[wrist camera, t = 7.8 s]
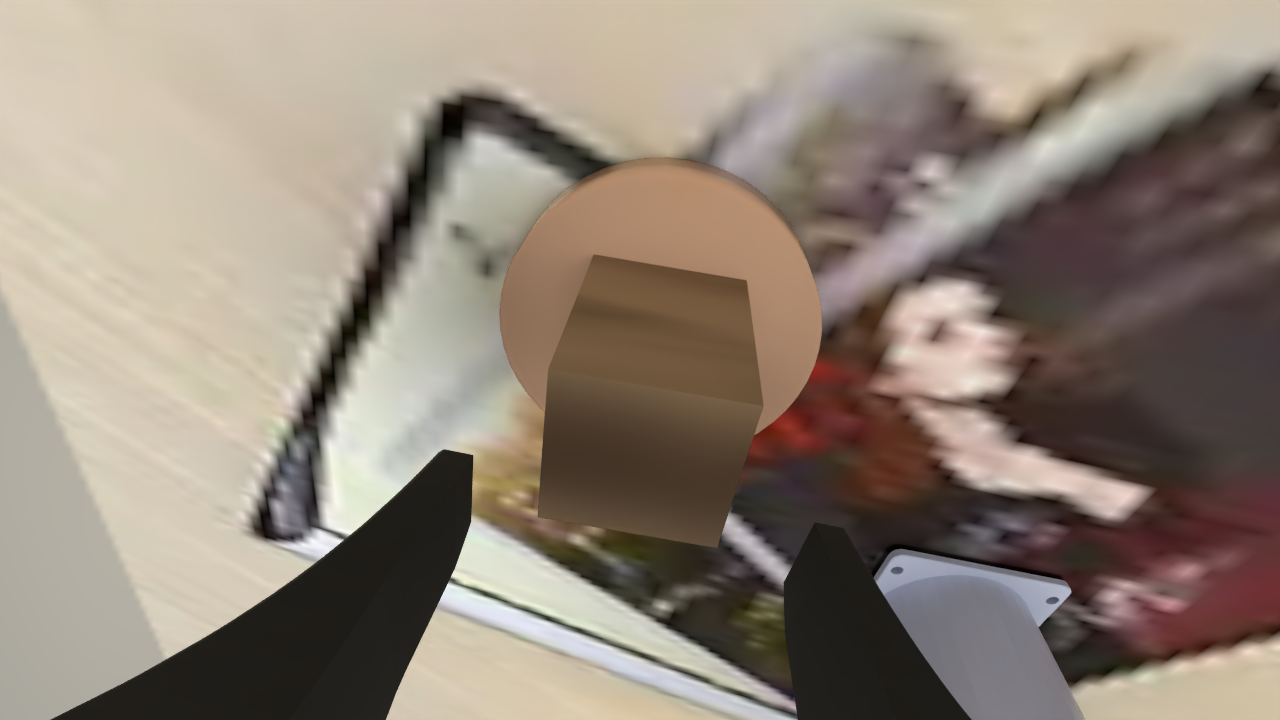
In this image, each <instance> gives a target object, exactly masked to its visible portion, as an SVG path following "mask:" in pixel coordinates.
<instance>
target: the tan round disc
mask: <svg viewBox="0 0 1280 720" xmlns="http://www.w3.org/2000/svg"><path fill="white" fill-rule="evenodd" d="M594 254H595V255H601V256H607V257H613V258H619V259H625V260H630V261H636V262H642V263H648V264H654V265H660V266H666V267H672V268H678V269H684V270H690V271H695V272H701V273H707V274H713V275H719V276H724V277H730V278H736V279H742V280H747V286H748V293H749V300H750V308H751V315H752V323H753V330H754V338H755V345H756V352H757V360H758V367H759V375H760V382H761V390H762V397H763V405H764V407H763V410H762V413H761V416H760V419H759V422H758V425H757V428H756V431H755V434H757V433H759V432H760V431H761V430H763V429H764V428H766V427H767V426H769V425H770V424H771V423H773V422H774V421H775V420H776V419H777V418H778V417H779V416H780V415H782V414H783V413H784V412H785V411H786V410H787V409H788V407H789V406H790V405H791V404H792V403H793V402H794V400H795V399H796V398H797V397H798V395H799V394H800V392H801V391H802V389H803V387H804V386H805V384H806V383H807V381H808V379H809V377H810V374H811V372H812V370H813V368H814V366H815V362H816V359H817V355H818V352H819V349H820V341H821V334H822V311H821V305H820V300H819V294H818V290H817V287H816V284H815V282H814V279H813V276H812V273H811V270H810V267H809V265H808V262H807V259H806V256H805V254H804V251H803V248H802V245H801V243H800V241H799V239H798V237H797V235H796V234H795V232H794V230H793V228H792V226H791V225H790V224H789V222H788V221H787V219H786V218H785V217H784V215H783V214H782V213H781V211H780V210H779V209H778V208H777V207H776V206H775V205H774V204H773V203H772V202H771V201H770V200H769V199H768V198H767V197H766V196H765V195H763V194H762V193H761V192H759V191H758V190H757V189H756V188H754V187H753V186H752V185H750V184H749V183H747V182H745V181H744V180H742V179H740V178H738V177H736V176H735V175H733V174H731V173H729V172H726V171H724V170H721V169H719V168H716V167H713V166H711V165H707V164H703V163H699V162H695V161H691V160H684V159H674V158H644V159H638V160H632V161H626V162H622V163H618V164H615V165H612V166H609V167H605V168H603V169H600V170H598V171H596V172H594V173H592V174H590V175H588V176H585V177H584V178H582V179H581V180H579V181H578V182H576V183H574V184H573V185H571V186H570V187H568V188H567V189H566V190H565V191H564V192H562V193H561V194H560V195H559V196H558V197H557V198H556V199H555V200H553V201H552V203H551V204H550V205H549V206H548V207H547V208H546V210H545V211H544V212H543V213H542V214H541V216H540V217H539V219H538V220H537V222H536V223H535V225H534V226H533V228H532V229H531V231H530V232H529V234H528V235H527V237H526V239H525V240H524V242H523V243H522V245H521V246H520V248H519V250H518V251H517V253H516V255H515V256H514V258H513V260H512V262H511V265H510V267H509V269H508V272H507V274H506V277H505V281H504V285H503V289H502V293H501V302H500V329H501V335H502V340H503V344H504V349H505V351H506V354H507V357H508V360H509V363H510V365H511V367H512V369H513V371H514V373H515V375H516V377H517V379H518V380H519V382H520V383H521V385H522V386H523V388H524V389H525V391H526V392H527V393H528V395H529V396H530V397H531V398H532V399H533V401H534V402H535V403H536V404H537V405H538V406H539V407H540V408H541V409H542V410H543V411H544V412H545V406H546V391H547V377H548V368H549V365H550V363H551V360H552V358H553V355H554V353H555V350H556V348H557V345H558V343H559V340H560V338H561V335H562V333H563V330H564V328H565V325H566V323H567V320H568V318H569V315H570V313H571V310H572V308H573V305H574V303H575V300H576V298H577V295H578V293H579V290H580V288H581V285H582V283H583V280H584V278H585V275H586V272H587V270H588V267H589V265H590V262H591V260H592V257H593V255H594ZM755 434H754V435H755Z"/></svg>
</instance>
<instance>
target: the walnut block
mask: <svg viewBox="0 0 1280 720" xmlns="http://www.w3.org/2000/svg"><path fill="white" fill-rule="evenodd" d="M763 407H764V405H763V397H762V390H761V382H760V375H759V367H758V360H757V352H756V345H755V338H754V330H753V323H752V315H751V308H750V300H749V293H748V286H747V280H742V279H736V278H730V277H724V276H719V275H713V274H707V273H701V272H695V271H690V270H684V269H678V268H672V267H666V266H660V265H654V264H648V263H642V262H636V261H630V260H625V259H619V258H613V257H607V256H601V255H595V254H594V255H593V257H592V260H591V262H590V265H589V267H588V270H587V272H586V275H585V278H584V280H583V283H582V285H581V288H580V290H579V293H578V295H577V298H576V300H575V303H574V305H573V308H572V310H571V313H570V315H569V318H568V320H567V323H566V325H565V328H564V330H563V333H562V335H561V338H560V340H559V343H558V345H557V348H556V350H555V353H554V355H553V358H552V360H551V363H550V365H549V368H548V377H547V391H546V406H545V420H544V434H543V448H542V463H541V477H540V491H539V505H538V517H540V518H545V519H551V520H557V521H563V522H569V523H575V524H580V525H586V526H592V527H598V528H604V529H610V530H615V531H621V532H627V533H633V534H639V535H645V536H650V537H656V538H662V539H668V540H674V541H680V542H685V543H691V544H697V545H703V546H709V547H715V548H717V546H718V543H719V540H720V537H721V534H722V531H723V528H724V525H725V522H726V519H727V516H728V513H729V510H730V507H731V504H732V501H733V498H734V495H735V492H736V489H737V486H738V483H739V480H740V477H741V474H742V470H743V467H744V464H745V461H746V458H747V455H748V452H749V449H750V446H751V443H752V440H753V437H754V434H755V431H756V428H757V425H758V422H759V419H760V416H761V413H762V410H763Z"/></svg>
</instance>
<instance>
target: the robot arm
mask: <svg viewBox="0 0 1280 720" xmlns="http://www.w3.org/2000/svg"><path fill="white" fill-rule="evenodd" d="M472 478H473V455H470V454H465V453H460V452H455V451H450V450H445V449H444V450H442V451H440V452H439V453H438V454H437V455H436V456H435V457H434V458H433V459H432V460H431V461H430V462H429V463H428V464H427V465H426V466H425V467H424V468H423V469H422V470H421V471H420V472H419V473H418V474H417V475H416V476H415V477H414V478H413V479H412V480H411V481H410V482H409V483H408V484H407V485H406V486H405V487H404V488H403V489H402V490H401V491H400V492H398V493H397V494H396V495H395V496H394V497H393V498H392V499H391V500H390V501H389V502H388V503H387V504H385V505H384V506H383V507H382V508H381V509H380V510H379V511H378V512H377V513H375V514H374V515H373V516H372V517H371V518H370V519H369V520H368V521H366V522H365V523H364V524H363V525H362V526H361V527H360V528H358V529H357V530H356V531H355V532H353V533H352V534H351V535H350V536H349V537H347V538H346V539H345V540H344V541H342V542H341V543H340V544H339V545H338V546H336V547H335V548H334V549H333V550H331V551H330V552H329V553H328V554H326V555H325V556H324V557H323V558H321V559H320V560H319V561H318V562H316V563H315V564H314V565H312V566H311V567H310V568H308V569H307V570H306V571H304V572H303V573H302V574H300V575H299V576H297V577H296V578H295V579H293V580H292V581H290V582H289V583H288V584H286V585H285V586H283V587H282V588H281V589H279V590H278V591H276V592H275V593H273V594H272V595H271V596H269V597H268V598H266V599H265V600H263V601H261V602H260V603H258V604H257V605H255V606H254V607H252V608H251V609H249V610H248V611H246V612H245V613H243V614H242V615H240V616H239V617H237V618H236V619H234V620H232V621H231V622H229V623H228V624H226V625H224V626H223V627H221V628H220V629H218V630H216V631H215V632H213V633H211V634H210V635H208V636H206V637H205V638H203V639H201V640H200V641H198V642H196V643H194V644H193V645H191V646H189V647H187V648H186V649H184V650H182V651H180V652H178V653H177V654H175V655H173V656H171V657H170V658H168V659H166V660H164V661H163V662H161V663H159V664H158V665H156V666H154V667H152V668H150V669H149V670H147V671H145V672H143V673H142V674H140V675H138V676H136V677H134V678H132V679H131V680H128V681H126V682H125V683H123V684H121V685H119V686H117V687H115V688H113V689H111V690H109V691H107V692H105V693H103V694H101V695H99V696H97V697H95V698H93V699H91V700H89V701H87V702H85V703H83V704H81V705H79V706H77V707H75V708H73V709H71V710H69V711H67V712H65V713H63V714H61V715H59V716H57V717H55V718H53V719H51V720H386V718H387V715H388V713H389V710H390V707H391V705H392V702H393V699H394V697H395V694H396V692H397V690H398V687H399V685H400V683H401V680H402V678H403V676H404V673H405V671H406V669H407V667H408V665H409V663H410V661H411V659H412V657H413V655H414V652H415V650H416V648H417V646H418V644H419V642H420V640H421V638H422V636H423V634H424V632H425V630H426V628H427V626H428V623H429V621H430V619H431V617H432V615H433V613H434V611H435V609H436V607H437V605H438V603H439V601H440V598H441V596H442V594H443V592H444V590H445V588H446V586H447V584H448V582H449V580H450V577H451V575H452V573H453V571H454V569H455V566H456V564H457V561H458V558H459V555H460V552H461V550H462V547H463V544H464V541H465V538H466V535H467V532H468V529H469V526H470V523H471V508H472ZM1070 593H1071V589H1070V587H1069V585H1068V584H1067V583H1066V582H1065V581H1063V580H1060V579H1054V578H1049V577H1044V576H1039V575H1034V574H1029V573H1024V572H1019V571H1013V570H1008V569H1003V568H998V567H993V566H988V565H983V564H977V563H972V562H967V561H962V560H957V559H952V558H947V557H941V556H936V555H931V554H926V553H921V552H916V551H911V550H906V549H896V550H894V551H892V552H891V553H890V554H889V555H888V556H887V558H886V559H885V561H884V562H883V564H882V565H881V567H880V568H879V570H878V571H877V573H876V575H875V576H874V578H873V577H872V575H871V573H870V572H869V570H868V568H867V567H866V565H865V563H864V562H863V560H862V558H861V557H860V555H859V553H858V552H857V550H856V548H855V547H854V545H853V543H852V542H851V540H850V538H849V537H848V535H847V533H846V532H845V530H844V529H843V528H840V527H835V526H830V525H825V524H820V523H814V525H813V527H812V529H811V531H810V533H809V535H808V537H807V539H806V540H805V542H804V544H803V546H802V548H801V550H800V552H799V554H798V556H797V558H796V560H795V562H794V564H793V566H792V568H791V570H790V572H789V574H788V575H787V577H786V579H785V581H784V616H785V634H786V642H787V649H788V656H789V663H790V670H791V676H792V683H793V689H794V696H795V702H796V709H797V716H798V720H1085V718H1084V716H1083V714H1082V712H1081V710H1080V708H1079V706H1078V704H1077V702H1076V700H1075V698H1074V696H1073V694H1072V692H1071V690H1070V688H1069V686H1068V684H1067V682H1066V681H1065V679H1064V677H1063V675H1062V673H1061V671H1060V669H1059V667H1058V665H1057V663H1056V661H1055V659H1054V657H1053V655H1052V653H1051V651H1050V649H1049V647H1048V645H1047V643H1046V641H1045V639H1044V637H1043V636H1042V634H1041V632H1040V630H1039V628H1038V627H1039V626H1040V625H1041V624H1042V623H1043V622H1044V621H1045V620H1046V619H1047V618H1048V617H1049V616H1050V615H1051V614H1052V613H1053V612H1054V611H1055V610H1056V609H1057V608H1058V607H1059V606H1060V605H1061V604H1062V603H1063V601H1064V600H1065V599H1066V598H1067V597H1068V596H1069V595H1070Z"/></svg>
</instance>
